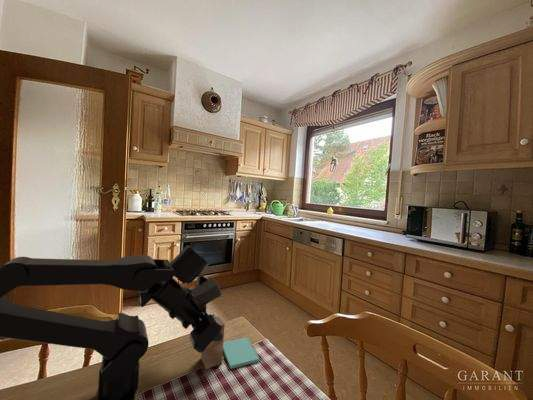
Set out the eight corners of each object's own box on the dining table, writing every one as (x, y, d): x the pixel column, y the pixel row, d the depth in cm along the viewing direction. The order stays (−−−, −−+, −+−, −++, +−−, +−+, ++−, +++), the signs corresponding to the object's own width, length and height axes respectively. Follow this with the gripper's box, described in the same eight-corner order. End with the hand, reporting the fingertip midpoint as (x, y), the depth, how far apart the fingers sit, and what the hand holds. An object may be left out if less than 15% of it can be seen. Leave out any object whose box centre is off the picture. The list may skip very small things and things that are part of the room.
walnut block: (205, 369, 55) (208, 328, 55) (200, 358, 59) (203, 319, 58) (221, 363, 57) (224, 324, 57) (216, 353, 61) (218, 316, 60)
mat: (230, 369, 56) (230, 365, 56) (221, 345, 64) (221, 342, 64) (259, 361, 59) (259, 358, 59) (247, 340, 67) (247, 337, 67)
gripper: (215, 285, 47) (258, 325, 53) (191, 259, 63) (227, 292, 69) (171, 333, 43) (223, 371, 49) (158, 292, 59) (198, 324, 65)
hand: (218, 333), depth 58 cm, fingers closed on walnut block, 4 cm apart
